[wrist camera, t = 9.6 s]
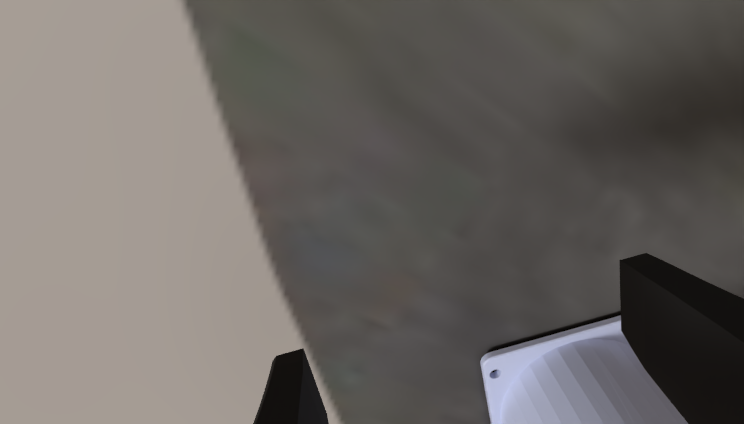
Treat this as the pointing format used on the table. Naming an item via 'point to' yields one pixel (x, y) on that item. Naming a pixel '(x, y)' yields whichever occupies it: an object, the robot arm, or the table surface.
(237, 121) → the table surface
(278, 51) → the table surface
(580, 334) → the robot arm
